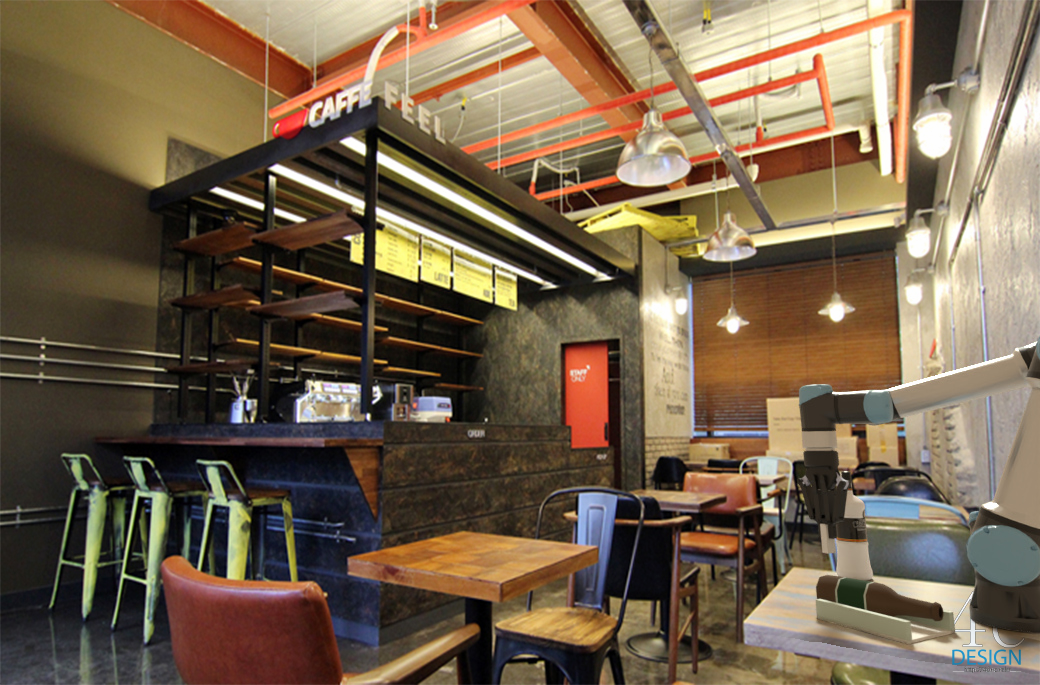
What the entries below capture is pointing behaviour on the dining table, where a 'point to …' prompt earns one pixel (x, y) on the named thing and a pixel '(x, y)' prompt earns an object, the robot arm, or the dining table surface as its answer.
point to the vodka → (853, 539)
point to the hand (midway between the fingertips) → (829, 552)
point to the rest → (885, 622)
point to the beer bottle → (874, 598)
